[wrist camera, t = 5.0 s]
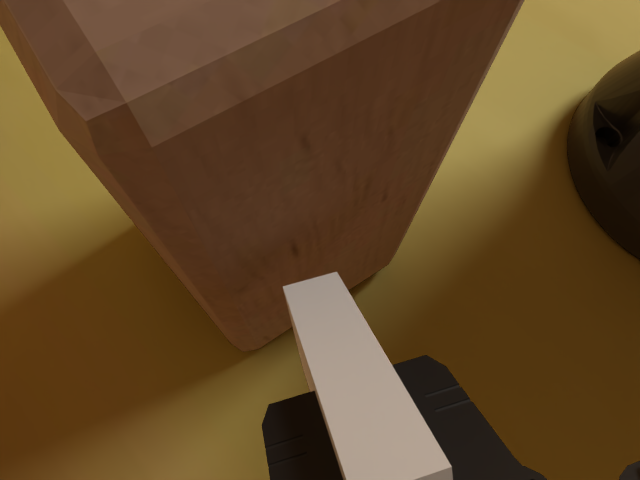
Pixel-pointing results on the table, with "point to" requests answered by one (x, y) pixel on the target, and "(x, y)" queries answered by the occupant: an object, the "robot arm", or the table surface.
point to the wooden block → (261, 128)
